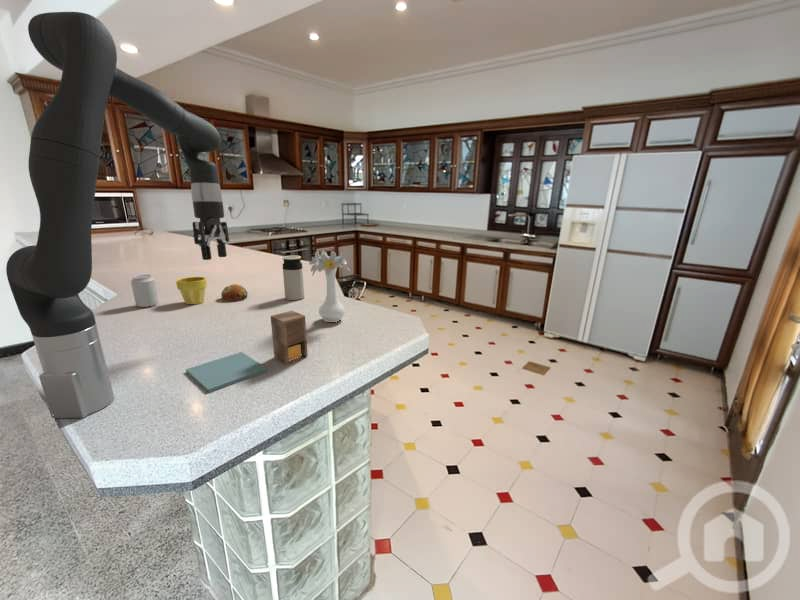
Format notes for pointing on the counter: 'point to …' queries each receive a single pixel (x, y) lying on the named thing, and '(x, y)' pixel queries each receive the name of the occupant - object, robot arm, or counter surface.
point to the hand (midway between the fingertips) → (215, 258)
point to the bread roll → (234, 293)
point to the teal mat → (225, 371)
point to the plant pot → (192, 289)
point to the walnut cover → (288, 333)
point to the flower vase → (330, 284)
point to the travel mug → (293, 278)
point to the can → (144, 290)
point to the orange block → (294, 351)
